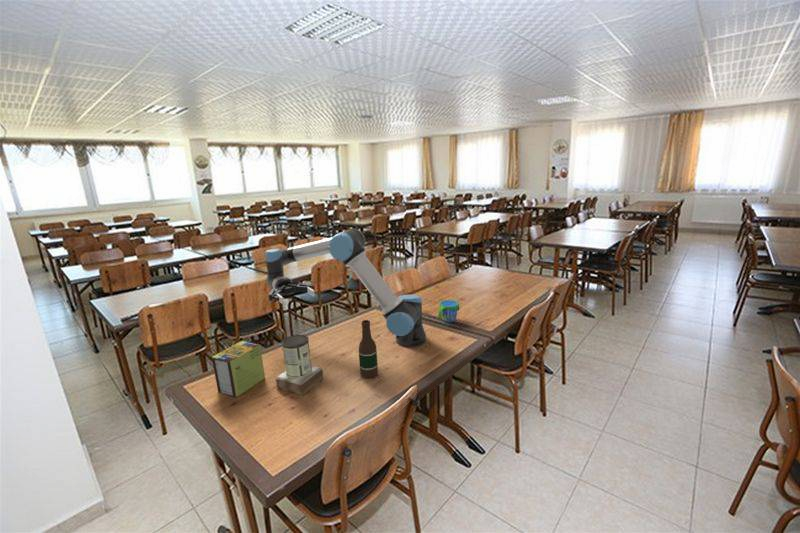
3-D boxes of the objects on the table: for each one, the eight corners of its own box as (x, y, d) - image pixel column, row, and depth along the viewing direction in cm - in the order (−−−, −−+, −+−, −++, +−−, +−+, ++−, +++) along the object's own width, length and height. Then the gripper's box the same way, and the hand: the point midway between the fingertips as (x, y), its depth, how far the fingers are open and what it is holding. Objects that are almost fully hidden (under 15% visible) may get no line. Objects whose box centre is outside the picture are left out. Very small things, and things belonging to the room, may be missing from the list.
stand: (323, 378, 154) (322, 367, 153) (302, 395, 143) (301, 383, 142) (298, 372, 160) (297, 361, 159) (277, 388, 149) (275, 376, 148)
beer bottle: (381, 371, 158) (378, 318, 152) (374, 380, 151) (370, 326, 145) (364, 368, 160) (360, 316, 154) (356, 378, 153) (352, 324, 147)
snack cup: (445, 327, 199) (445, 309, 196) (432, 321, 207) (432, 304, 204) (465, 319, 208) (466, 302, 205) (452, 314, 216) (452, 297, 213)
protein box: (265, 377, 157) (260, 344, 153) (236, 397, 144) (229, 361, 140) (247, 373, 161) (242, 340, 157) (217, 392, 148) (210, 356, 144)
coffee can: (291, 365, 156) (287, 334, 152) (315, 365, 155) (312, 334, 151) (281, 378, 146) (277, 345, 142) (307, 379, 145) (303, 346, 141)
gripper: (309, 287, 182) (326, 298, 165) (256, 299, 169) (269, 312, 152) (307, 273, 180) (325, 282, 163) (254, 283, 167) (267, 295, 150)
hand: (298, 297), depth 157 cm, fingers open, 13 cm apart
